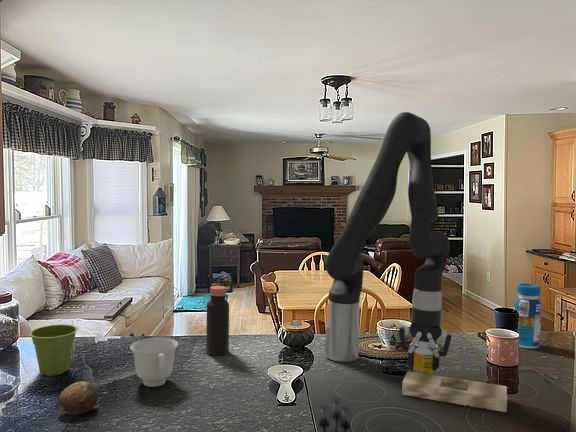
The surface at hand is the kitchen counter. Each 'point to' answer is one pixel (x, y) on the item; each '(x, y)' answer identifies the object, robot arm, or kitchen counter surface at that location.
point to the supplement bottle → (423, 358)
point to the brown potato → (78, 398)
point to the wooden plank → (455, 391)
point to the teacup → (154, 359)
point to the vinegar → (217, 322)
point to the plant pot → (53, 347)
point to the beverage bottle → (528, 315)
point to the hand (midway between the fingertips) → (423, 367)
